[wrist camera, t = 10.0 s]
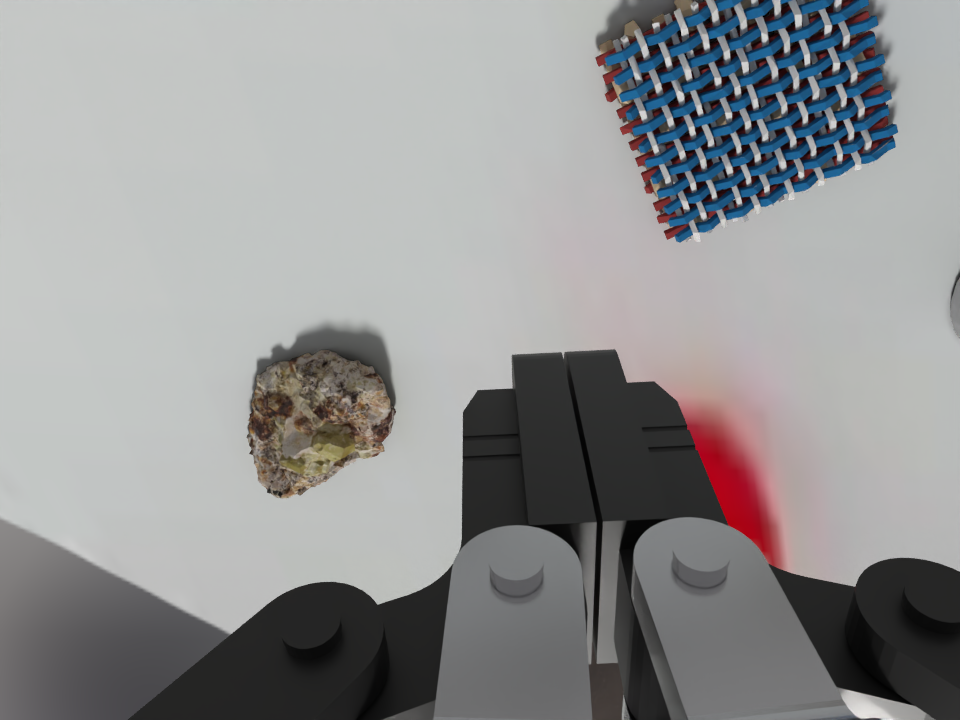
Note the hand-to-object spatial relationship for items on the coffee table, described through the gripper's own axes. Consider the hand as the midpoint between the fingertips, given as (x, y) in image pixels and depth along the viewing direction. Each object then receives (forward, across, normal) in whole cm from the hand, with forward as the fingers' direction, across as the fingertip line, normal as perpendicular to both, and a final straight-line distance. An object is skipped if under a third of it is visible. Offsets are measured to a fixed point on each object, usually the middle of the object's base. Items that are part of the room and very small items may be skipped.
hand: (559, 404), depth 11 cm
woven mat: (+25, -10, +2) cm, 27 cm away
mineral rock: (+26, +11, +18) cm, 34 cm away
